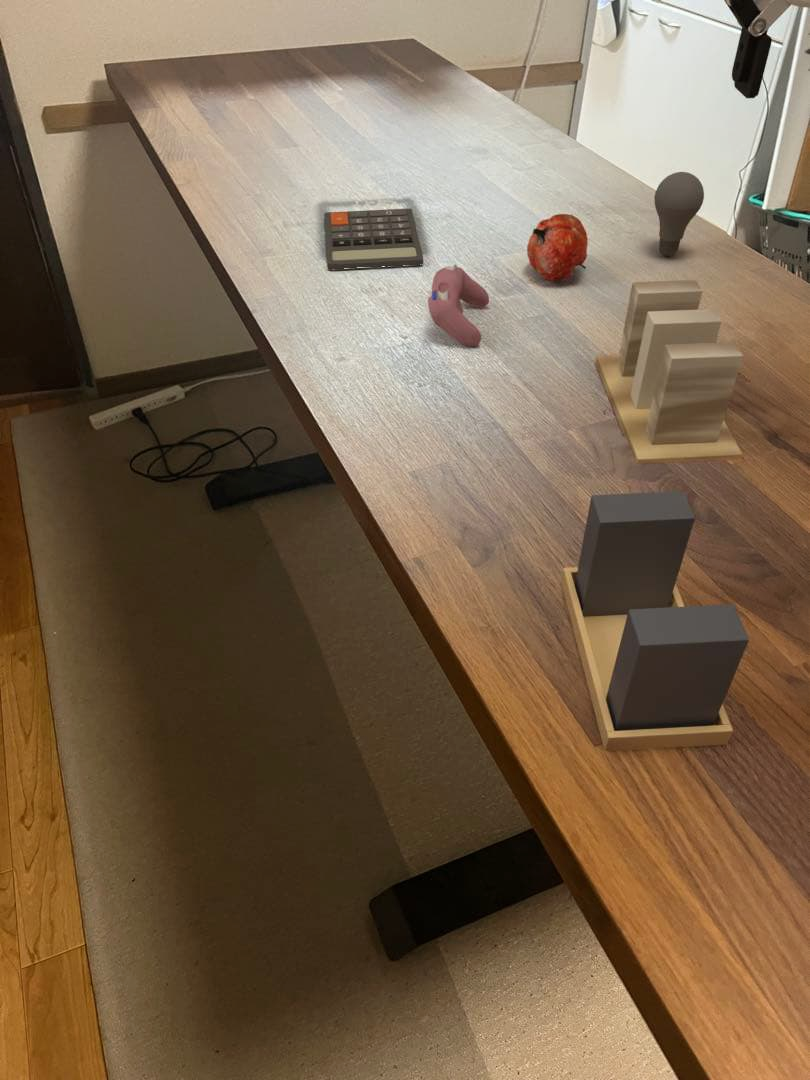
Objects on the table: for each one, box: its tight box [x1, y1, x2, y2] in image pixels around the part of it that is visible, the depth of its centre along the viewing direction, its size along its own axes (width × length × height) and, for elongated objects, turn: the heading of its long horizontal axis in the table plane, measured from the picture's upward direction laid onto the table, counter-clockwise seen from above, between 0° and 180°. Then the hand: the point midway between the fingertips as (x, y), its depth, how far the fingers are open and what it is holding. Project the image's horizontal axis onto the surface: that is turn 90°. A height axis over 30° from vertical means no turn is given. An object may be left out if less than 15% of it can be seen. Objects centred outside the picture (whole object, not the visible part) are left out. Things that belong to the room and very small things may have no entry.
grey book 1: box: [575, 490, 696, 617], centre depth 61 cm, size 3×6×10 cm, turn 93°
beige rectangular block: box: [630, 308, 722, 409], centre depth 79 cm, size 2×6×9 cm, turn 93°
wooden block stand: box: [594, 279, 744, 465], centre depth 79 cm, size 17×9×10 cm, turn 3°
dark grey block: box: [606, 603, 750, 731], centre depth 54 cm, size 3×6×10 cm, turn 93°
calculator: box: [323, 208, 424, 271], centre depth 109 cm, size 12×1×15 cm
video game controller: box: [427, 264, 490, 347], centre depth 93 cm, size 10×5×7 cm, turn 170°
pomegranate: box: [526, 213, 589, 283], centre depth 101 cm, size 7×7×10 cm
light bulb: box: [653, 171, 705, 258], centre depth 103 cm, size 6×6×10 cm
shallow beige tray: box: [560, 566, 734, 752], centre depth 60 cm, size 15×8×2 cm, turn 3°
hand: (809, 90), depth 63 cm, fingers open, 9 cm apart
